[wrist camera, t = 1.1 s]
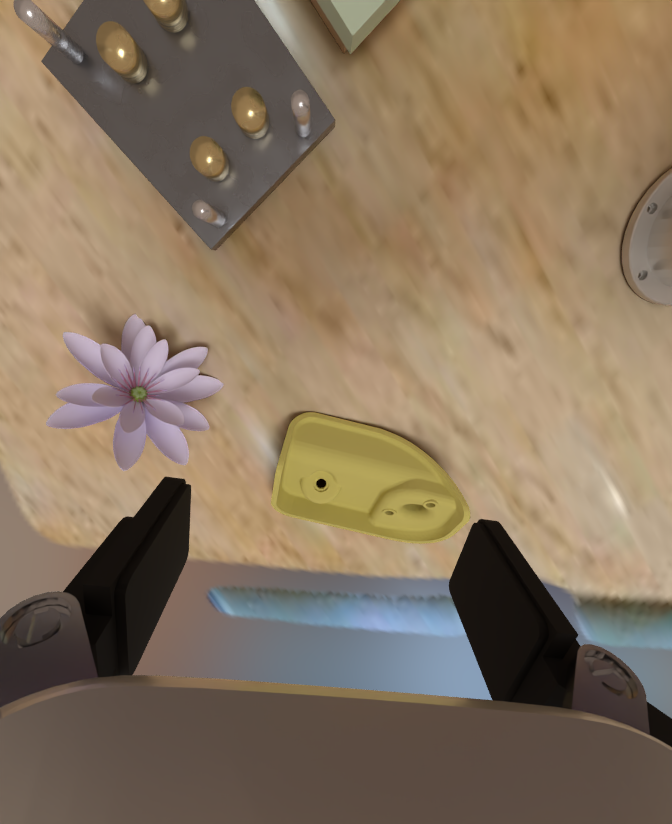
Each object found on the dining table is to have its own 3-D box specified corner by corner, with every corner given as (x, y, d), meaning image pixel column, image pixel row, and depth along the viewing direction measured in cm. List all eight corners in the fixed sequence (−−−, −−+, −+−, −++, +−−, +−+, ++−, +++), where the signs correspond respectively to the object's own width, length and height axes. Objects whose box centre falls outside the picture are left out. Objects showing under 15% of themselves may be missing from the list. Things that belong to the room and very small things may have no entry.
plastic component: (269, 511, 40) (276, 463, 32) (285, 459, 45) (294, 407, 37) (436, 550, 41) (479, 512, 33) (433, 494, 46) (470, 450, 38)
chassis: (179, -100, 23) (134, -216, 18) (334, 127, 28) (337, 92, 23) (55, 72, 26) (-15, 19, 21) (215, 250, 31) (192, 245, 26)
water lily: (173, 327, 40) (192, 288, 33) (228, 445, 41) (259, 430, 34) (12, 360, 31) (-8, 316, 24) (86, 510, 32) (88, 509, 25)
